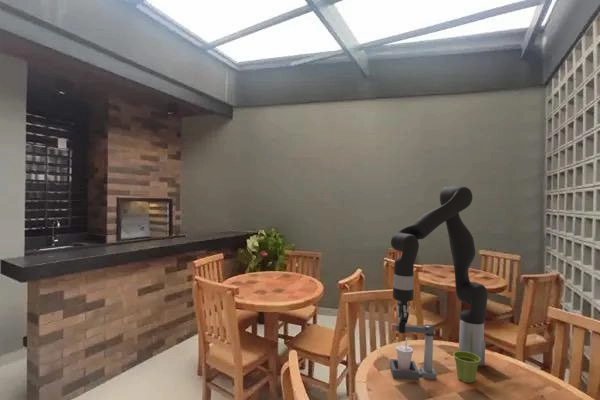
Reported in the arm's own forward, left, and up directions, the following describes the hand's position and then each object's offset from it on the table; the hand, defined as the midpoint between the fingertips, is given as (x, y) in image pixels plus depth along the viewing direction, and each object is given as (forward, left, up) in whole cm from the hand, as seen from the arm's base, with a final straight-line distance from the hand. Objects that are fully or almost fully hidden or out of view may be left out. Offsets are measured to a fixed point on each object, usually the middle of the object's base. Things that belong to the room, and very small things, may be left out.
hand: (401, 332), depth 131 cm
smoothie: (-2, -5, -18) cm, 18 cm away
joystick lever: (-5, -5, -2) cm, 7 cm away
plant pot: (-25, -5, -18) cm, 31 cm away
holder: (-5, -5, -18) cm, 19 cm away
